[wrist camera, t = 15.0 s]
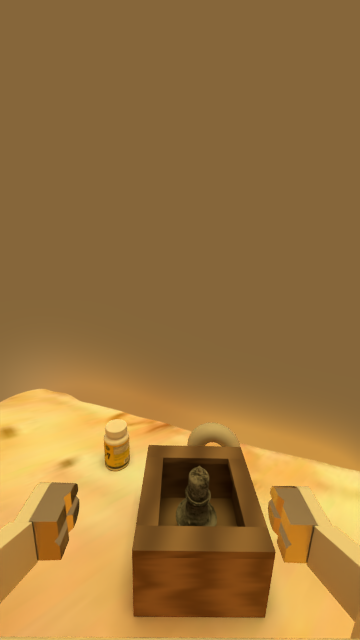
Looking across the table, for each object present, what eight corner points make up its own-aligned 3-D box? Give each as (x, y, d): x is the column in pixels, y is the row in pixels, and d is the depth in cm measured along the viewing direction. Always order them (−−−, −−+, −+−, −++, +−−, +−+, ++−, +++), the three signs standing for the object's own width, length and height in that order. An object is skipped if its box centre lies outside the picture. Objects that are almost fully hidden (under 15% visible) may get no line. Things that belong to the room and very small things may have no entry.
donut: (237, 466, 49) (242, 422, 47) (238, 481, 46) (243, 434, 44) (187, 458, 51) (189, 415, 48) (185, 472, 47) (187, 427, 45)
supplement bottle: (103, 457, 51) (101, 421, 49) (126, 449, 53) (125, 415, 51) (107, 475, 46) (105, 436, 44) (132, 466, 48) (131, 429, 46)
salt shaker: (201, 508, 40) (206, 445, 37) (223, 545, 35) (231, 475, 32) (168, 524, 37) (170, 457, 35) (186, 566, 32) (191, 492, 30)
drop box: (133, 616, 28) (132, 550, 26) (148, 494, 43) (148, 445, 40) (264, 617, 28) (275, 552, 26) (235, 495, 43) (240, 447, 41)
